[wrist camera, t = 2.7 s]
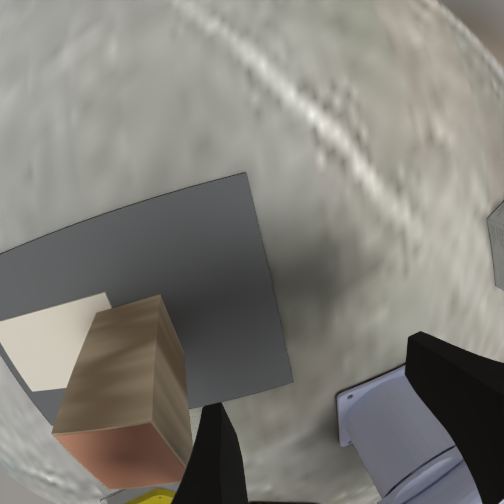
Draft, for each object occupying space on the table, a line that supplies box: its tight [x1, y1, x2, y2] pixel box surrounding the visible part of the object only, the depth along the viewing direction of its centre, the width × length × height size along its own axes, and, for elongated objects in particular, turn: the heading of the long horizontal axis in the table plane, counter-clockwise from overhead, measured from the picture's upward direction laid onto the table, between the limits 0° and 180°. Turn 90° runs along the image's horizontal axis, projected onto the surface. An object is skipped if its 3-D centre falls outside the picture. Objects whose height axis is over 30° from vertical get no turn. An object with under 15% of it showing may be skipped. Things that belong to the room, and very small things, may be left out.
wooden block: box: [51, 294, 193, 490], centre depth 13 cm, size 4×4×9 cm
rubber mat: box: [0, 172, 294, 426], centre depth 17 cm, size 20×14×1 cm
